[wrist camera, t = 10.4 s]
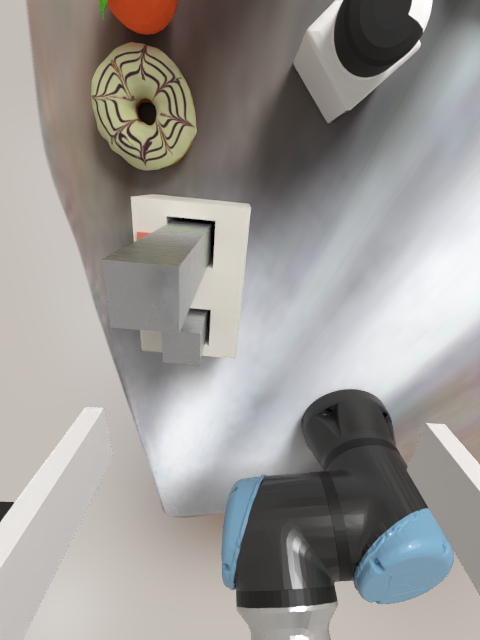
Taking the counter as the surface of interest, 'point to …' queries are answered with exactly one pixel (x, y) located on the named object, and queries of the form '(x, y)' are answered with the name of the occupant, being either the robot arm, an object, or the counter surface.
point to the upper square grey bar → (157, 277)
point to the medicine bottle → (358, 49)
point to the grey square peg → (187, 339)
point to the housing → (222, 271)
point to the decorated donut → (138, 87)
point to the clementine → (142, 13)
